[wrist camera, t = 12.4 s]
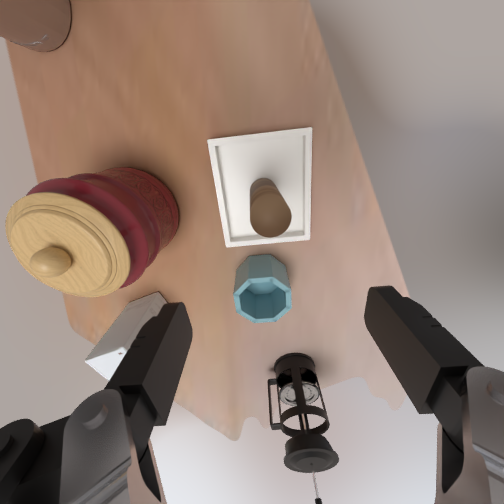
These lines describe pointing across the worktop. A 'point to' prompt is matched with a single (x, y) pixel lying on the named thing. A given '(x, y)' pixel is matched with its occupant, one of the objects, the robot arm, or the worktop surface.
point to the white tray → (262, 166)
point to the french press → (302, 417)
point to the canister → (92, 229)
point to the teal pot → (262, 289)
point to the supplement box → (123, 334)
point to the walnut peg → (268, 209)
